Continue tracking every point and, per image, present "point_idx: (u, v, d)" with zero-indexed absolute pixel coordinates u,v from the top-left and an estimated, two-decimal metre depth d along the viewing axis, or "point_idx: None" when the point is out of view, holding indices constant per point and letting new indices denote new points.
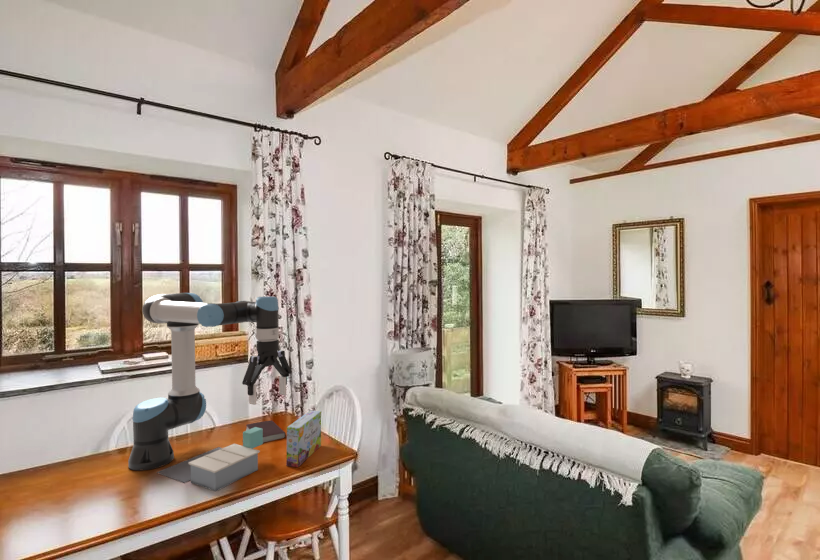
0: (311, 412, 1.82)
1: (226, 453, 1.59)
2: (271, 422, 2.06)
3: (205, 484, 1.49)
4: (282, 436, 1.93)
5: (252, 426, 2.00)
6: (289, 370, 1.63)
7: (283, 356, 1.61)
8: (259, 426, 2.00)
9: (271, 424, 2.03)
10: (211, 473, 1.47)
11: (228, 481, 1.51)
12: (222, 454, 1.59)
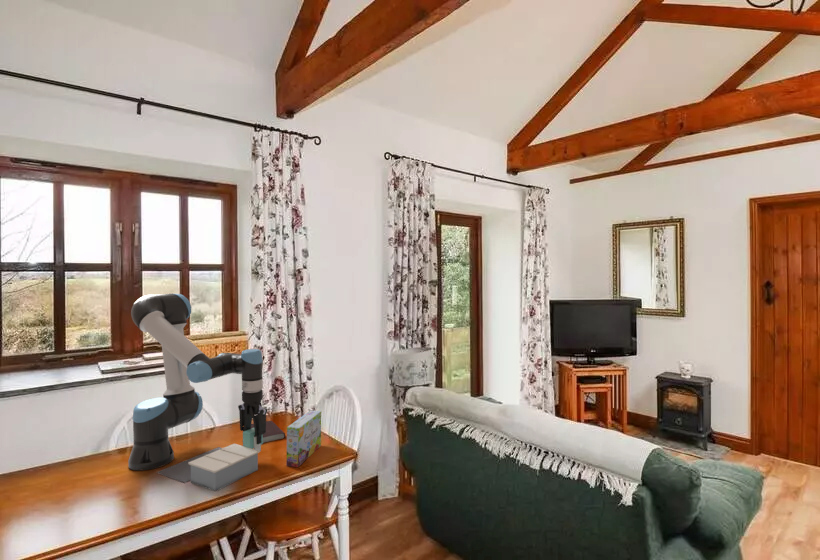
0: (311, 412, 1.82)
1: (226, 453, 1.59)
2: (271, 422, 2.05)
3: (205, 484, 1.49)
4: (281, 436, 1.93)
5: (251, 426, 1.99)
6: (259, 431, 1.64)
7: (260, 414, 1.64)
8: None
9: (271, 425, 2.02)
10: (211, 473, 1.47)
11: (228, 481, 1.51)
12: (222, 454, 1.59)
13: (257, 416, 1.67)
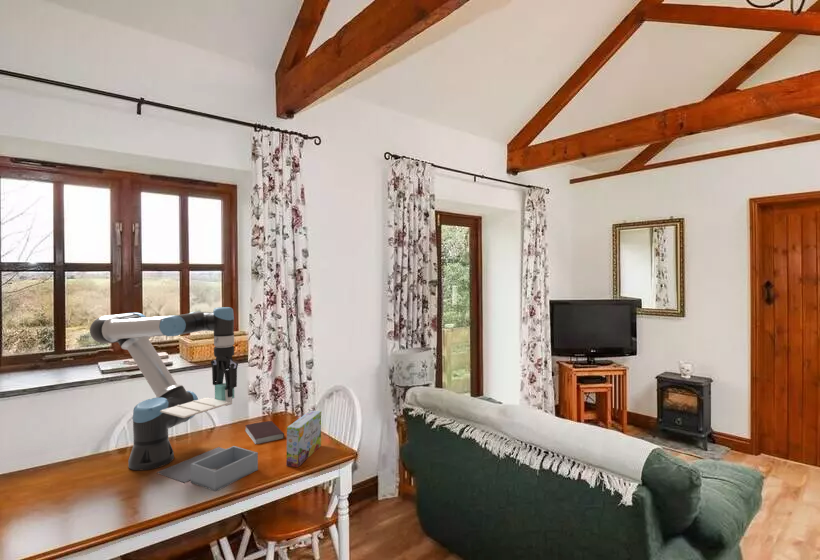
0: (311, 412, 1.82)
1: (198, 404, 1.67)
2: (270, 423, 2.05)
3: (205, 484, 1.49)
4: (281, 437, 1.92)
5: (251, 427, 1.99)
6: (230, 384, 1.72)
7: (230, 368, 1.72)
8: (258, 427, 1.99)
9: (270, 425, 2.02)
10: (211, 473, 1.47)
11: (228, 481, 1.51)
12: (194, 404, 1.66)
13: (228, 370, 1.74)
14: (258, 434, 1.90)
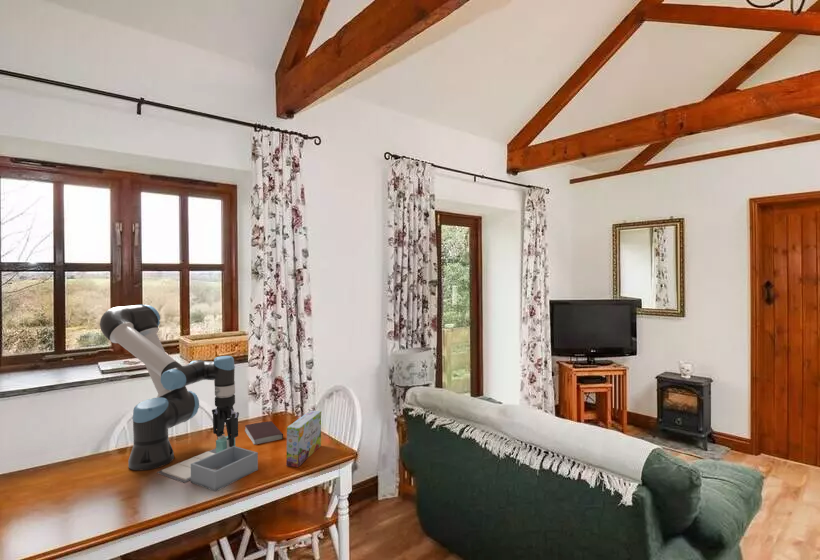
0: (311, 412, 1.82)
1: None
2: (270, 423, 2.05)
3: (205, 484, 1.49)
4: (280, 437, 1.91)
5: (251, 427, 1.99)
6: (232, 434, 1.72)
7: (231, 418, 1.72)
8: (257, 427, 1.99)
9: (270, 425, 2.01)
10: (211, 473, 1.47)
11: (228, 481, 1.51)
12: None
13: (229, 420, 1.74)
14: (257, 434, 1.90)
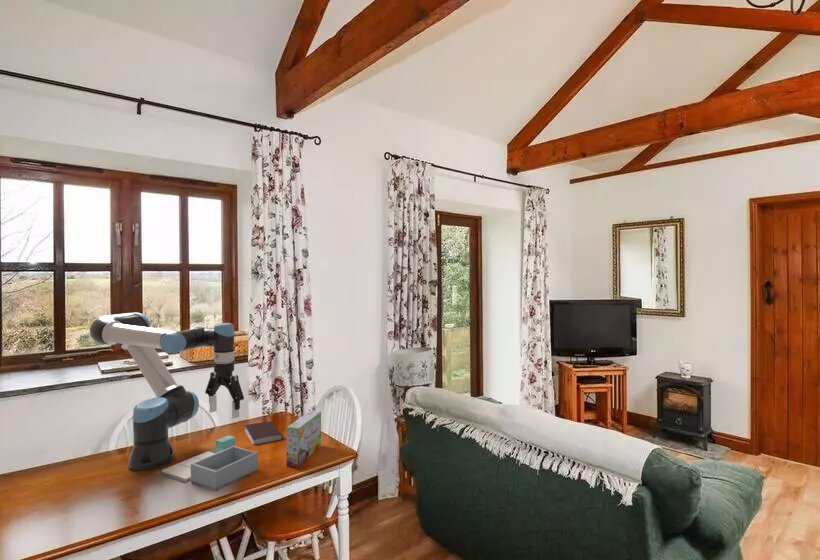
0: (311, 412, 1.82)
1: None
2: (270, 423, 2.04)
3: (205, 484, 1.49)
4: (279, 438, 1.91)
5: (250, 427, 1.99)
6: (237, 397, 1.70)
7: (232, 381, 1.71)
8: (257, 427, 1.99)
9: (270, 425, 2.01)
10: (211, 473, 1.47)
11: (228, 481, 1.51)
12: None
13: (231, 384, 1.73)
14: (257, 435, 1.90)
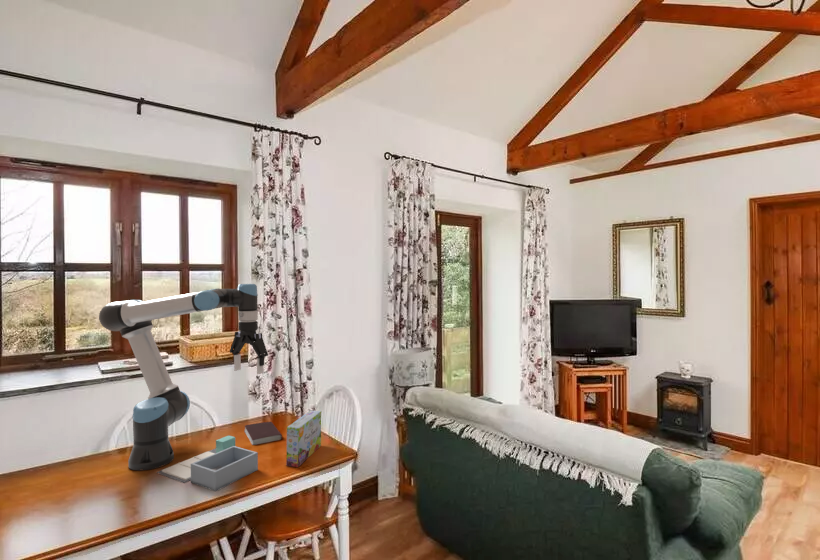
0: (311, 412, 1.82)
1: None
2: (270, 423, 2.04)
3: (205, 484, 1.49)
4: (278, 438, 1.91)
5: (250, 427, 1.99)
6: (261, 353, 1.76)
7: (256, 339, 1.78)
8: (257, 427, 1.98)
9: (269, 426, 2.01)
10: (211, 473, 1.47)
11: (228, 481, 1.51)
12: None
13: (255, 342, 1.80)
14: (256, 435, 1.89)
